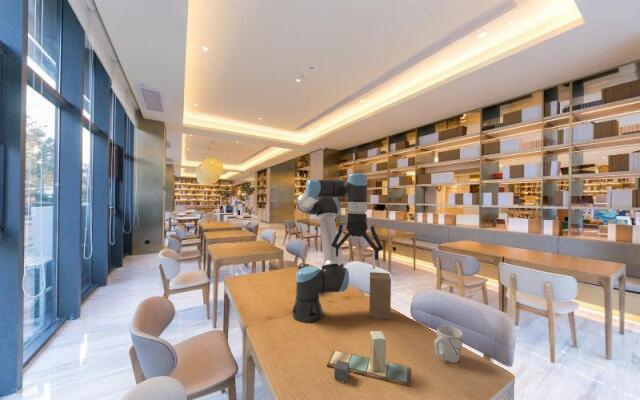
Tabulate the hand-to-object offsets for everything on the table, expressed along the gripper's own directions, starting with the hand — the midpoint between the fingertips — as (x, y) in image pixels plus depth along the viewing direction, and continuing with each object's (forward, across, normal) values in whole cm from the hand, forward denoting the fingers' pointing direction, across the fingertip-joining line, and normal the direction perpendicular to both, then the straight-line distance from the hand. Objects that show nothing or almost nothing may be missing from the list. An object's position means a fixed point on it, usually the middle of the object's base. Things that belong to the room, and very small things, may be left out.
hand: (356, 266), depth 100 cm
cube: (+32, -1, -19) cm, 37 cm away
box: (+31, +10, -11) cm, 34 cm away
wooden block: (+32, +6, +31) cm, 45 cm away
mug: (+32, +33, +4) cm, 46 cm away
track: (+32, +6, -11) cm, 34 cm away
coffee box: (+32, -43, +48) cm, 72 cm away
